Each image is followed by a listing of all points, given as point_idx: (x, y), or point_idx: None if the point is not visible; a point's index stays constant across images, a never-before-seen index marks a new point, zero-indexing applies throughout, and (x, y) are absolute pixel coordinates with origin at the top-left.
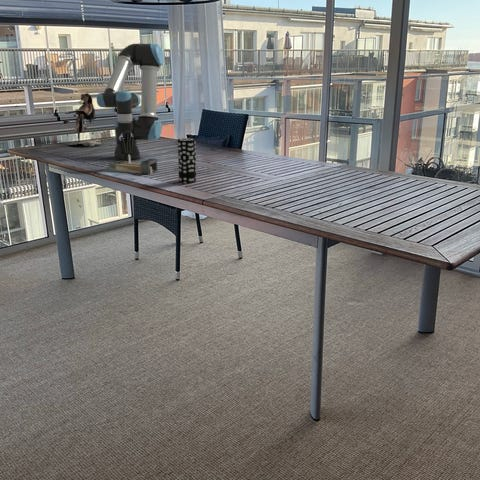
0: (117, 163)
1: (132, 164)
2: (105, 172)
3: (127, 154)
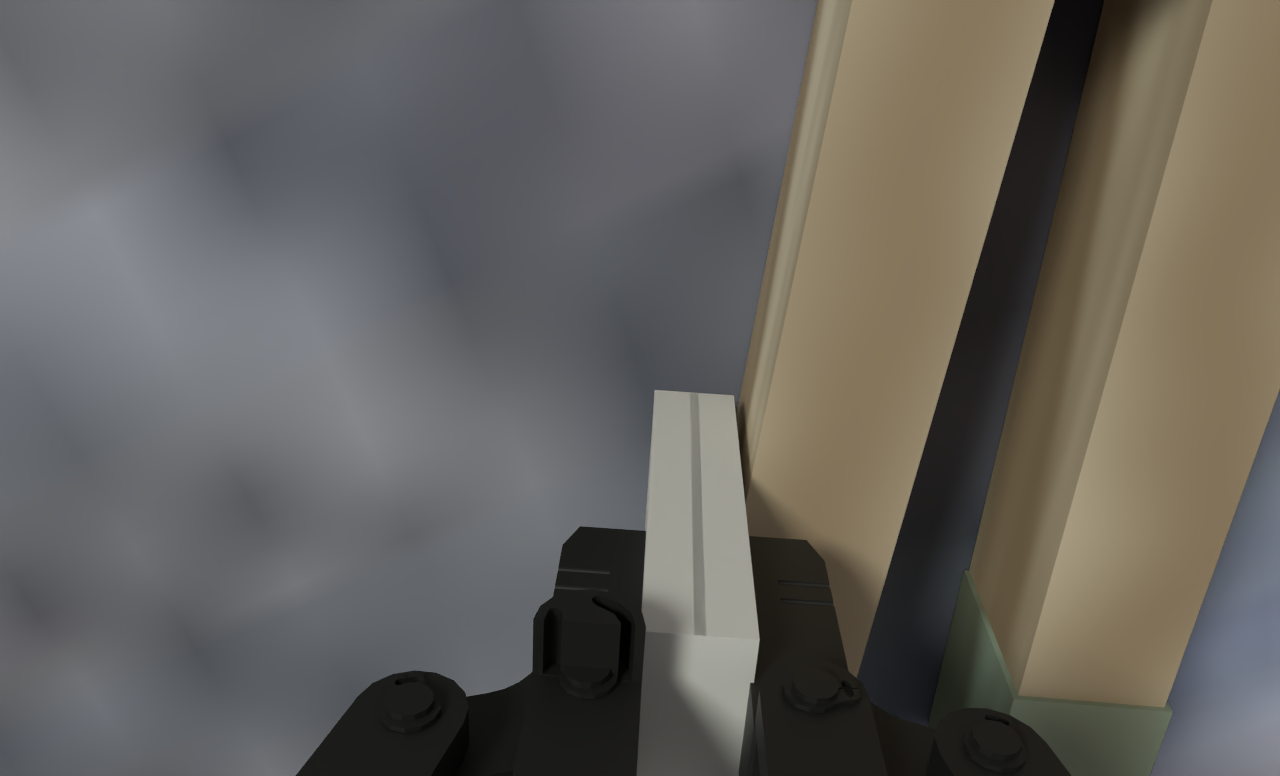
0: None
1: (979, 248)
2: (1254, 732)
3: (858, 685)
